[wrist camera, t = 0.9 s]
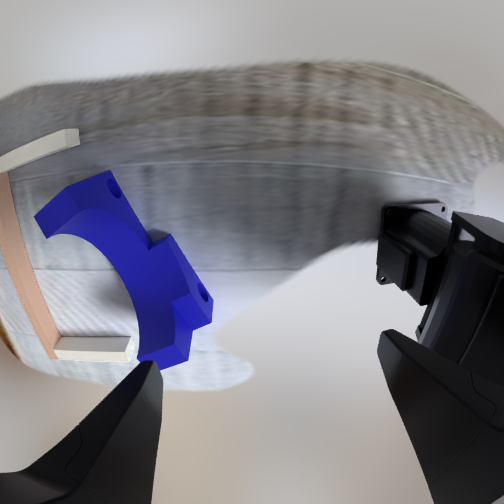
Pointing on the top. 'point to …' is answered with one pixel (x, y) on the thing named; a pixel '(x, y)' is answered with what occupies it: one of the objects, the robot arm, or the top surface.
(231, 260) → the top surface
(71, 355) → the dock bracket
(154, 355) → the blue half clamp
